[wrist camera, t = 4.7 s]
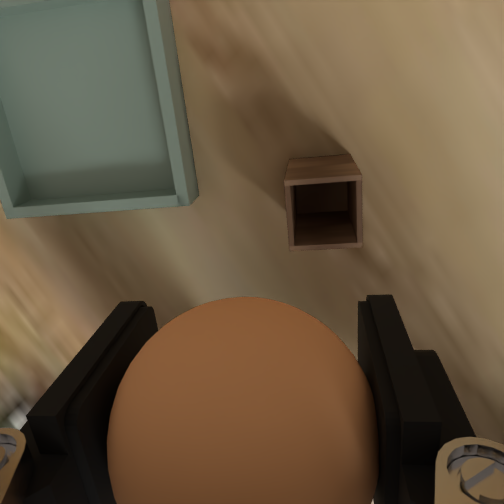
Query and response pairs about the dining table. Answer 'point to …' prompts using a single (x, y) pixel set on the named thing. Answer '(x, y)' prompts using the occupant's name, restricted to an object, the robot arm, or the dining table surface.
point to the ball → (243, 412)
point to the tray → (91, 108)
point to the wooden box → (324, 203)
